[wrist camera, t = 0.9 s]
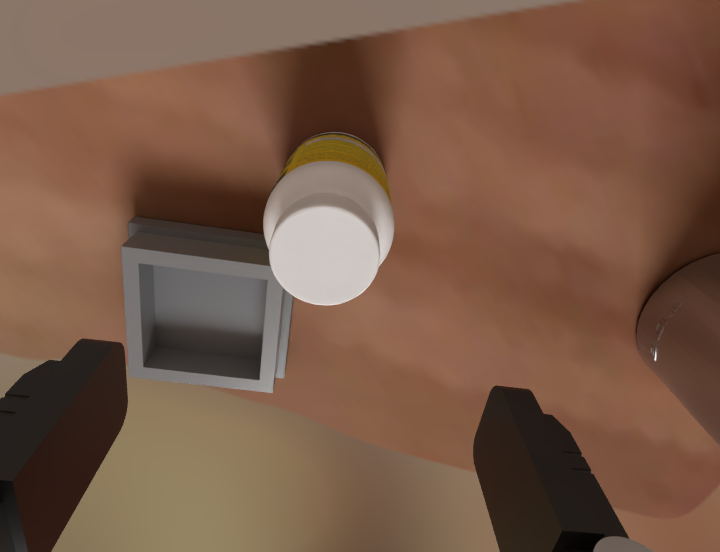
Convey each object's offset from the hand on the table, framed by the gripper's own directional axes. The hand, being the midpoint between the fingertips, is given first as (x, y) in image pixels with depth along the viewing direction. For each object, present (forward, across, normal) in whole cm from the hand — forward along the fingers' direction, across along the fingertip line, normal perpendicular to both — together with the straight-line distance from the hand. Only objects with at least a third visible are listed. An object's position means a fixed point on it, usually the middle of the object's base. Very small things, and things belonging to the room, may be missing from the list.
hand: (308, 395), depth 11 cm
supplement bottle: (+17, 0, 0) cm, 17 cm away
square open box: (+17, +6, +8) cm, 20 cm away
